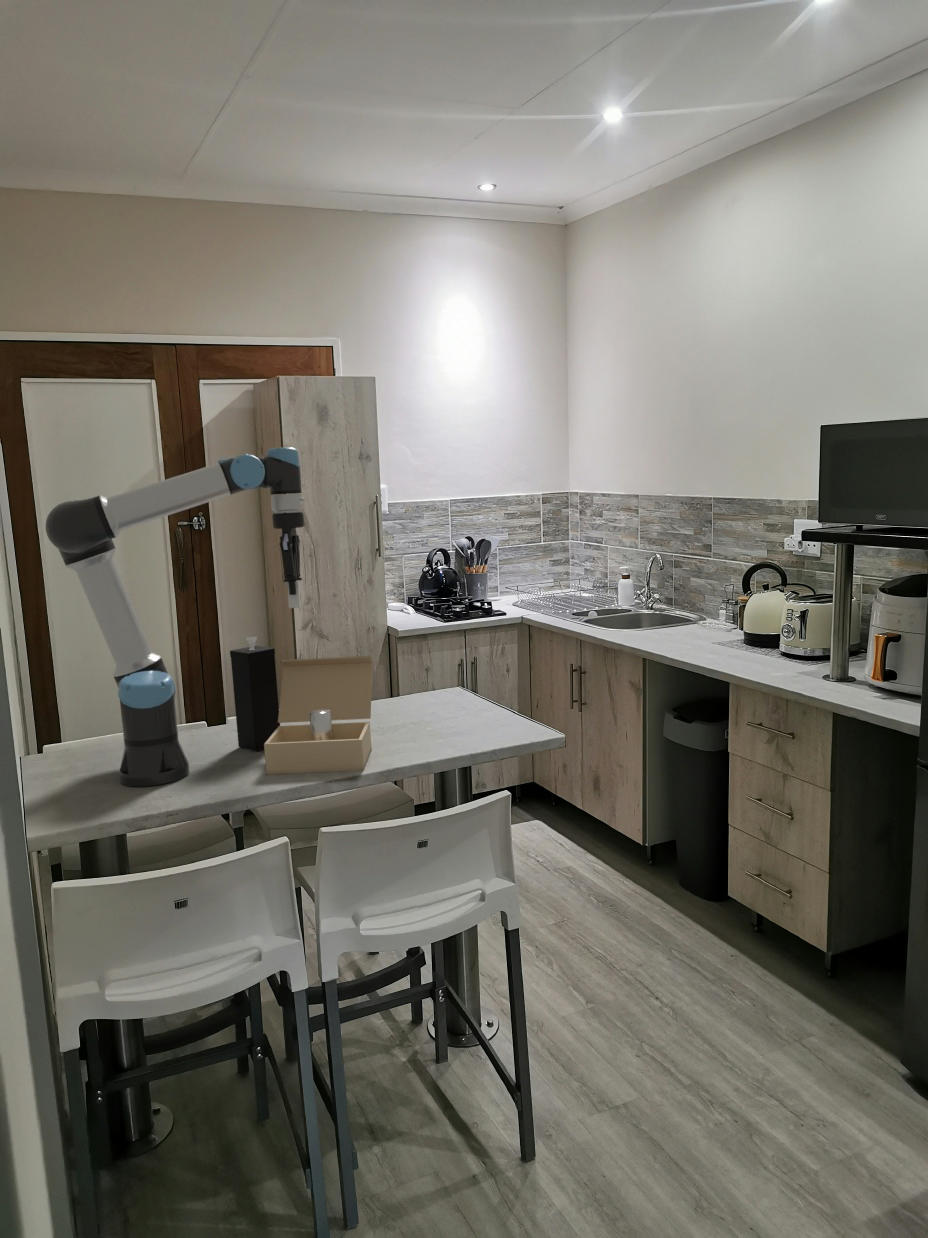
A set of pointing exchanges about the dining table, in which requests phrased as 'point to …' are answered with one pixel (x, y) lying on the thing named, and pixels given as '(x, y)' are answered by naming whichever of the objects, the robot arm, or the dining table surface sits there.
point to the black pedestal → (255, 694)
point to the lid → (326, 688)
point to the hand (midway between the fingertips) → (294, 607)
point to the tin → (321, 725)
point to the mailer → (318, 749)
